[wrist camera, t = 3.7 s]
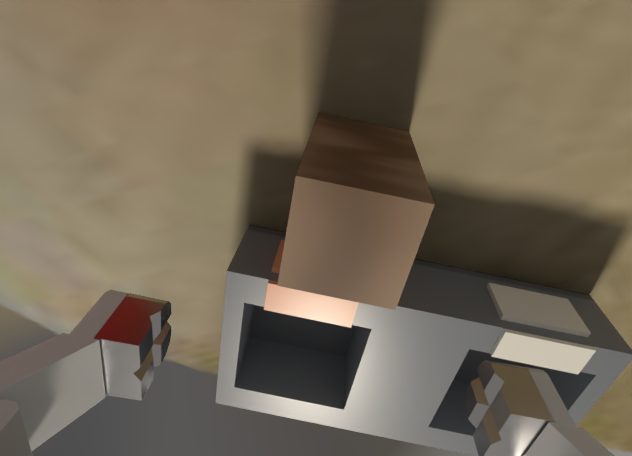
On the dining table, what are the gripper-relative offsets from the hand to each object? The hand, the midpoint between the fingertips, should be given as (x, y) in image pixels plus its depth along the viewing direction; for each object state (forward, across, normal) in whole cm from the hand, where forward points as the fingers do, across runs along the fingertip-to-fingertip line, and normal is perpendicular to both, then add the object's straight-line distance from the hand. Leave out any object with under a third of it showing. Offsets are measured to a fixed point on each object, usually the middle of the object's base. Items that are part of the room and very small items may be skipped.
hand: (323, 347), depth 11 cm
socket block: (+12, -6, +9) cm, 16 cm away
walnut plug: (+12, -1, -1) cm, 12 cm away
